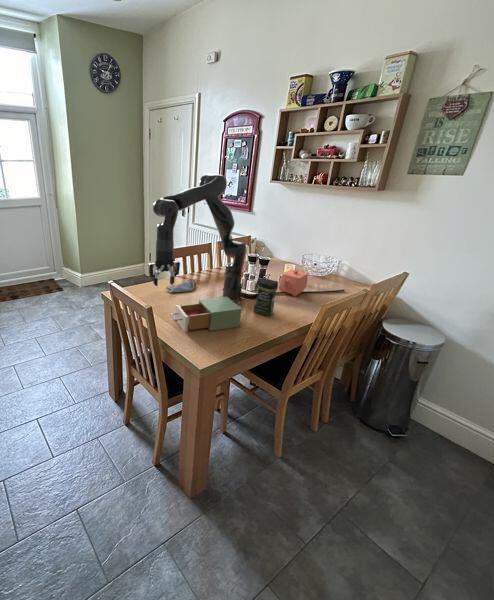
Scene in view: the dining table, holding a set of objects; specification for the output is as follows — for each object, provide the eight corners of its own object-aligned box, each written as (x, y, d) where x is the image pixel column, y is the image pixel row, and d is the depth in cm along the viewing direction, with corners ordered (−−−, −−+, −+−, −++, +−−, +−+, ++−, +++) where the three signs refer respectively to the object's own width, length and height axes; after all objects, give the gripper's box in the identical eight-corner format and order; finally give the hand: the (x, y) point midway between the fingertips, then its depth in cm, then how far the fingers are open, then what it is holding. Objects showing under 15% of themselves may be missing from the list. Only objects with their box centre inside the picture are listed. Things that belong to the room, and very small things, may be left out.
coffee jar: (251, 312, 173) (256, 279, 166) (257, 307, 179) (262, 275, 171) (268, 317, 168) (274, 284, 160) (275, 312, 173) (281, 279, 166)
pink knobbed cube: (292, 300, 188) (297, 277, 182) (272, 294, 196) (276, 271, 190) (308, 290, 202) (313, 269, 196) (289, 285, 210) (293, 264, 204)
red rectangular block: (193, 316, 163) (194, 309, 162) (202, 325, 155) (202, 319, 153) (182, 317, 162) (182, 311, 160) (190, 327, 153) (190, 320, 152)
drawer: (176, 333, 150) (177, 318, 147) (167, 320, 162) (167, 305, 158) (213, 327, 155) (214, 313, 152) (201, 315, 167) (202, 301, 163)
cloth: (176, 296, 190) (176, 292, 189) (161, 289, 200) (161, 285, 199) (206, 286, 206) (207, 282, 205) (191, 279, 215) (191, 276, 214)
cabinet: (210, 330, 154) (211, 312, 150) (197, 317, 167) (199, 299, 163) (239, 326, 159) (241, 308, 155) (225, 313, 171) (227, 296, 167)
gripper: (150, 251, 133) (150, 289, 140) (183, 249, 137) (181, 286, 144) (146, 247, 140) (145, 283, 147) (177, 245, 144) (176, 280, 151)
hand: (163, 284), depth 145 cm, fingers open, 6 cm apart
